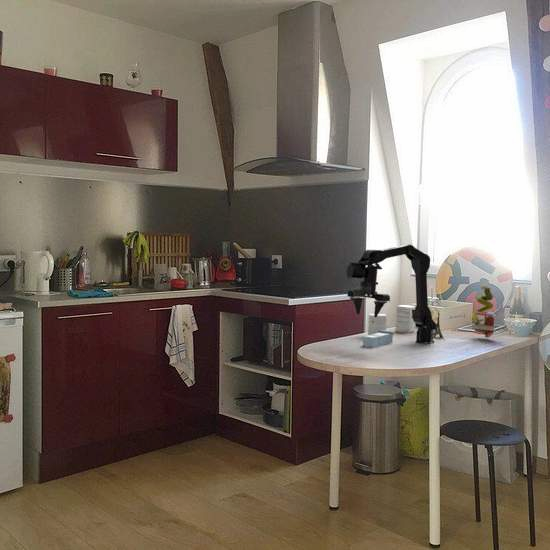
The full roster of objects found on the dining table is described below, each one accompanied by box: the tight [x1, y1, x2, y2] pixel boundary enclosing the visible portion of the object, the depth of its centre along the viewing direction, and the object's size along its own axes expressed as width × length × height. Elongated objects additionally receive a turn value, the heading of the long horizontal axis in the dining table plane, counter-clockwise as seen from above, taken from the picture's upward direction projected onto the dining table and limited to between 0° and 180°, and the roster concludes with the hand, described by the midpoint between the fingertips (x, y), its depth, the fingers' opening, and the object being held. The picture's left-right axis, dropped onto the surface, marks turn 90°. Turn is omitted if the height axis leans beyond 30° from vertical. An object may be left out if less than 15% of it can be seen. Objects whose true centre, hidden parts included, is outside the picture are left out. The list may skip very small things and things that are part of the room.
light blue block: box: [362, 334, 380, 348], centre depth 271 cm, size 5×5×4 cm
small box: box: [367, 313, 387, 336], centre depth 295 cm, size 8×6×10 cm
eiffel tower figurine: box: [433, 312, 447, 341], centre depth 299 cm, size 15×10×13 cm
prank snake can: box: [471, 284, 495, 338], centre depth 300 cm, size 12×10×25 cm
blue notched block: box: [370, 330, 396, 347], centre depth 279 cm, size 7×13×5 cm, turn 144°
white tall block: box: [395, 304, 416, 334], centre depth 316 cm, size 7×7×13 cm
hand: (366, 315), depth 273 cm, fingers open, 9 cm apart
